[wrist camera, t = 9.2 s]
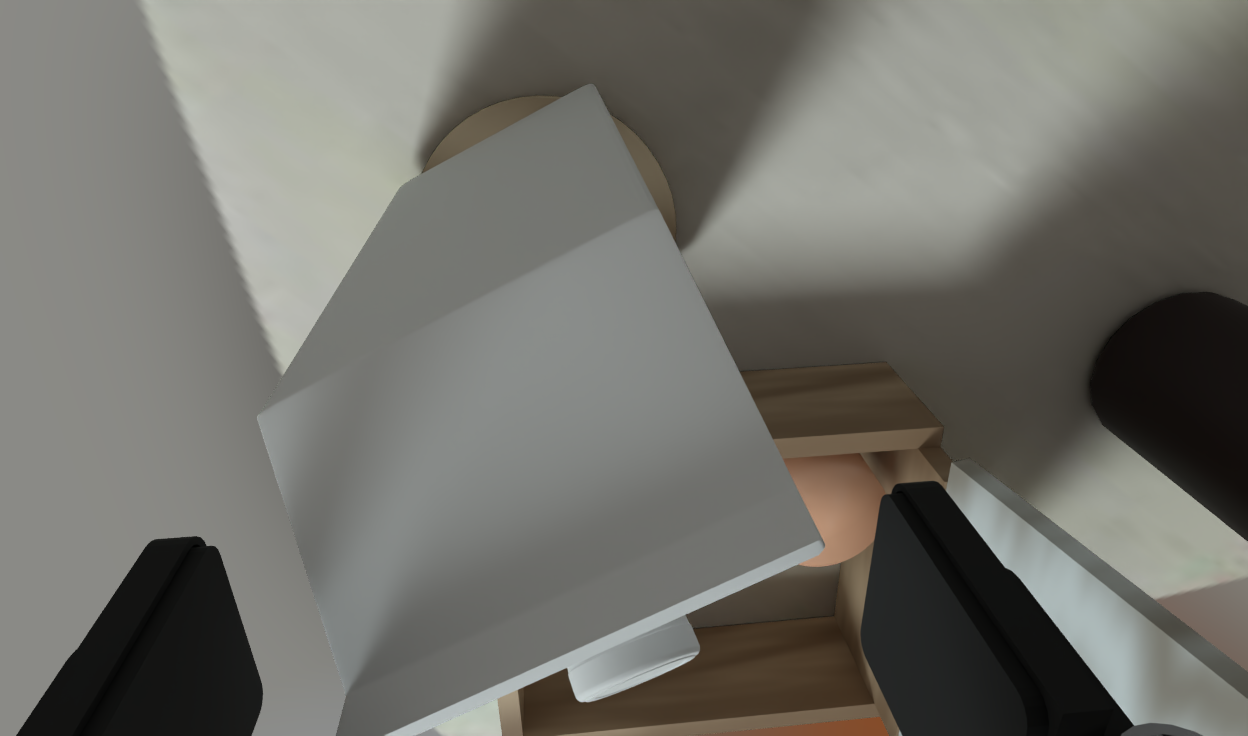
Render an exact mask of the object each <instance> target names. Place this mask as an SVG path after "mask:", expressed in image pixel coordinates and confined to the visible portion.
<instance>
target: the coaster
mask: <svg viewBox="0 0 1248 736" xmlns="http://www.w3.org/2000/svg"><path fill="white" fill-rule="evenodd" d="M560 98H562V97H558V96H540V95H535V96H526V97H517V98H513V99H509V100H505V101H501V102H498V103H496V104H493V105H491V106H488V107H486V108H484V109H482V110H480V111H478V112H477V113H475V114H473V115H471V116H470V117H468V118H467V119H465V120H464V121H463V122H461V123H460V124H459V125H458V126H456V127H455V128H454V129H453V130H452V131H451V132H450V133H449V134H448V135H447V136H446V137H445V138H444V139H443V140H442V141H441V143H440V144H439V145H438V147H437V148H436V149H435V151H434V152H433V154H432V155H431V157H430V158H429V160H428V162H427V164H426V166H425V168H424V170H423V172H422V173H424V172H426V171H428V170H430V169H431V168H433V167H435V166H437V165H439V164H441V163H442V162H444V161H446V160H448V159H450V158H452V157H453V156H455V155H457V154H459V153H461V152H463V151H464V150H466V149H468V148H470V147H472V146H474V145H475V144H477V143H479V142H481V141H483V140H485V139H486V138H488V137H490V136H492V135H494V134H496V133H497V132H499V131H501V130H503V129H505V128H507V127H508V126H510V125H512V124H514V123H516V122H518V121H519V120H521V119H523V118H525V117H527V116H529V115H530V114H532V113H534V112H536V111H538V110H540V109H541V108H543V107H545V106H547V105H549V104H551V103H552V102H554V101H556V100H558V99H560ZM611 117H612V119H613V121H614V123H615V125H616V127H617V129H618V131H619V133H620V135H621V137H622V139H623V141H624V143H625V145H626V147H627V149H628V150H629V152H630V154H631V156H632V158H633V160H634V162H635V164H636V166H637V168H638V170H639V172H640V174H641V176H642V178H643V180H644V182H645V184H646V185H647V187H648V189H649V191H650V193H651V195H652V197H653V199H654V201H655V203H656V205H657V207H658V209H659V211H660V213H661V215H662V217H663V219H664V221H665V223H666V225H667V227H668V229H669V231H670V233H671V235H672V237H673V239H674V241H675V242H676V213H675V208H674V203H673V198H672V194H671V191H670V188H669V185H668V182H667V180H666V178H665V176H664V174H663V172H662V170H661V168H660V166H659V164H658V162H657V161H656V159H655V158H654V156H653V155H652V153H651V152H650V150H649V149H648V147H647V146H646V145H645V144H644V143H643V142H642V140H641V139H640V138H639V137H638V136H637V135H636V134H635V133H634V132H633V131H632V130H631V129H630V128H628V127H627V126H626V125H625V124H624V123H622V122H621V121H620V120H618V119H617V118H615V117H613V116H612V115H611Z"/></svg>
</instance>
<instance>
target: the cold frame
mask: <svg viewBox="0 0 1248 736" xmlns="http://www.w3.org/2000/svg"><path fill="white" fill-rule="evenodd" d="M740 374H741V376H742V378H743V380H744V382H745V384H746V386H747V388H748V390H749V392H750V394H751V396H752V398H753V400H754V402H755V404H756V406H757V408H758V410H759V412H760V414H761V416H762V418H763V420H764V422H765V424H766V426H767V429H768V431H769V433H770V435H771V437H772V439H773V441H774V443H775V445H776V447H777V449H778V451H779V453H780V455H781V457H782V459H785V458H798V457H812V456H825V455H839V454H852V453H860V454H861V456H862V457H863V459H864V460H865V462H866V463H867V465H868V466H869V468H870V469H871V471H872V472H873V474H874V475H875V477H876V478H877V480H878V481H879V483H880V484H881V486H882V487H883V489H884V491H885V493H886V494H891V492H892V489H893V487H894V486H895V485H896V484H898V483H910V482H923V481H936V482H939V483H940V484H941V485H942V486H943V488H944V489H945V490H946V492H947V493H948V494H949V495H950V497H951V498H952V499H953V501H954V502H955V503H956V504H957V506H958V507H959V508H960V510H961V511H962V512H963V514H964V515H965V516H966V517H967V519H968V520H969V521H970V523H971V524H972V525H973V527H974V528H975V529H976V530H977V532H978V533H979V534H980V536H981V537H982V538H983V540H984V541H985V542H986V543H987V545H988V546H989V547H990V549H991V550H992V551H993V553H994V554H995V555H996V556H997V558H998V559H999V560H1000V562H1001V563H1002V564H1003V566H1004V567H1005V568H1007V569H1009V570H1011V571H1013V572H1014V573H1015V574H1016V575H1017V576H1018V577H1019V578H1020V580H1021V581H1022V582H1023V583H1024V585H1025V586H1026V587H1027V589H1028V590H1029V591H1030V592H1031V594H1032V595H1033V596H1034V598H1035V599H1036V600H1037V601H1038V603H1039V604H1040V605H1041V607H1042V608H1043V609H1044V610H1045V612H1046V613H1047V614H1048V616H1049V617H1050V618H1051V619H1052V621H1053V622H1054V623H1055V624H1056V626H1057V627H1058V628H1059V630H1060V631H1061V632H1062V633H1063V635H1064V636H1065V637H1066V639H1067V640H1068V641H1069V642H1070V644H1071V645H1072V646H1073V648H1074V649H1075V650H1076V651H1077V653H1078V654H1079V655H1080V657H1081V658H1082V659H1083V660H1084V662H1085V663H1086V664H1087V666H1088V667H1089V668H1090V669H1091V671H1092V672H1093V673H1094V675H1095V676H1096V677H1097V678H1098V680H1099V681H1100V682H1101V683H1102V685H1103V686H1104V687H1105V689H1106V690H1107V691H1108V692H1109V694H1110V695H1111V696H1112V698H1113V699H1114V700H1115V701H1116V703H1117V704H1118V705H1119V707H1120V708H1121V709H1122V710H1123V712H1124V713H1125V714H1126V716H1127V717H1128V718H1129V719H1130V721H1131V722H1132V723H1133V725H1134V726H1136V725H1141V724H1146V723H1160V724H1171V725H1175V726H1178V727H1181V728H1185V729H1188V730H1191V731H1195V732H1197V733H1199V734H1201V735H1203V736H1248V672H1247V671H1246V670H1245V669H1244V668H1242V667H1241V666H1240V665H1238V664H1237V663H1236V662H1234V661H1233V660H1232V659H1230V658H1229V657H1228V656H1227V655H1225V654H1224V653H1223V652H1221V651H1220V650H1219V649H1218V648H1216V647H1215V646H1214V645H1212V644H1211V643H1210V642H1208V641H1207V640H1206V639H1205V638H1203V637H1202V636H1201V635H1199V634H1198V633H1197V632H1195V631H1194V630H1193V629H1192V628H1190V627H1189V626H1187V625H1186V624H1185V623H1184V622H1182V621H1181V620H1180V619H1179V618H1177V617H1176V616H1175V615H1173V614H1172V613H1171V612H1169V611H1168V610H1167V609H1165V608H1164V607H1163V606H1162V605H1160V604H1159V603H1158V602H1156V601H1155V600H1154V599H1153V598H1151V597H1150V596H1149V595H1147V594H1146V593H1145V592H1143V591H1142V590H1141V589H1140V588H1138V587H1137V586H1136V585H1134V584H1133V583H1132V582H1130V581H1129V580H1128V579H1127V578H1125V577H1124V576H1123V575H1121V574H1120V573H1119V572H1117V571H1116V570H1115V569H1114V568H1112V567H1111V566H1110V565H1108V564H1107V563H1106V562H1104V561H1103V560H1102V559H1101V558H1099V557H1098V556H1097V555H1095V554H1094V553H1093V552H1091V551H1090V550H1089V549H1088V548H1086V547H1085V546H1084V545H1082V544H1081V543H1080V542H1078V541H1077V540H1076V539H1075V538H1073V537H1072V536H1071V535H1069V534H1068V533H1067V532H1065V531H1064V530H1063V529H1062V528H1060V527H1059V526H1058V525H1056V524H1055V523H1054V522H1052V521H1051V520H1050V519H1049V518H1047V517H1046V516H1045V515H1043V514H1042V513H1041V512H1039V511H1038V510H1037V509H1036V508H1034V507H1033V506H1032V505H1030V504H1029V503H1028V502H1026V501H1025V500H1024V499H1023V498H1021V497H1020V496H1019V495H1017V494H1016V493H1015V492H1013V491H1012V490H1011V489H1010V488H1008V487H1007V486H1006V485H1004V484H1003V483H1002V482H1000V481H999V480H998V479H997V478H995V477H994V476H993V475H991V474H990V473H989V472H987V471H986V470H985V469H984V468H982V467H981V466H980V465H978V464H977V463H976V462H974V461H973V460H972V459H971V458H969V459H964V460H960V461H955V462H953V461H952V460H951V459H950V458H949V457H948V455H947V454H946V453H945V452H944V451H943V449H942V448H941V447H940V446H941V441H942V436H943V430H944V426H943V425H942V424H941V423H940V422H939V421H938V420H937V418H936V417H935V416H934V415H933V414H932V413H931V412H930V411H929V409H928V408H927V407H926V406H925V405H924V404H923V403H922V402H921V400H920V399H919V398H918V397H917V396H916V395H915V394H914V393H913V392H912V390H911V389H910V388H909V387H908V386H907V385H906V384H905V383H904V381H903V380H902V379H901V378H900V377H899V376H898V375H897V374H896V372H895V371H894V370H893V369H892V368H891V367H890V366H889V365H888V364H887V362H880V363H865V364H850V365H834V366H819V367H803V368H788V369H773V370H757V371H742V372H740ZM873 546H874V541H873V542H872V543H871V544H870V545H869V546H868V547H867V548H866V549H865V550H863V551H862V552H860V553H859V554H857V555H856V556H854V557H852V558H850V559H848V560H846V561H843V562H841V566H840V574H839V582H838V589H837V597H836V605H835V613H834V616H831V617H820V618H809V619H797V620H786V621H775V622H764V623H753V624H742V625H731V626H720V627H709V628H698V629H693V631H694V633H695V635H696V638H697V640H698V643H699V645H700V651H699V653H698V654H697V655H696V656H695V658H693V659H692V660H690V661H689V662H687V663H685V664H683V665H681V666H679V667H677V668H675V669H672V670H670V671H668V672H666V673H664V674H662V675H659V676H657V677H655V678H652V679H650V680H648V681H646V682H643V683H641V684H638V685H636V686H634V687H631V688H629V689H626V690H624V691H621V692H619V693H616V694H613V695H611V696H608V697H605V698H602V699H599V700H596V701H592V702H580V701H578V700H577V699H576V697H575V695H574V692H573V689H572V686H571V683H570V679H569V676H568V674H569V673H568V669H567V668H565V669H563V670H561V671H558V672H556V673H554V674H552V675H549V676H547V677H545V678H543V679H540V680H538V681H536V682H534V683H532V684H529V685H527V686H525V687H523V688H520V689H518V690H516V691H514V692H511V693H509V694H507V695H505V696H502V697H500V698H498V706H499V714H500V722H501V729H502V736H693V735H703V734H712V733H723V732H731V731H742V730H752V729H761V728H772V727H781V726H792V725H801V724H812V723H821V722H831V721H840V720H851V719H861V718H870V717H881V719H882V721H883V723H884V725H885V728H886V730H887V732H888V734H889V736H902V734H901V732H900V730H899V728H898V726H897V724H896V721H895V719H894V717H893V715H892V713H891V711H890V709H889V707H888V704H887V702H886V700H885V698H884V696H883V694H882V692H881V690H880V687H879V685H878V683H877V681H876V679H875V677H874V675H873V673H872V670H871V668H870V666H869V664H868V662H867V660H866V658H865V655H864V652H863V649H862V645H861V637H860V631H861V623H862V616H863V610H864V603H865V597H866V591H867V584H868V578H869V571H870V565H871V558H872V552H873Z"/></svg>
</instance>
